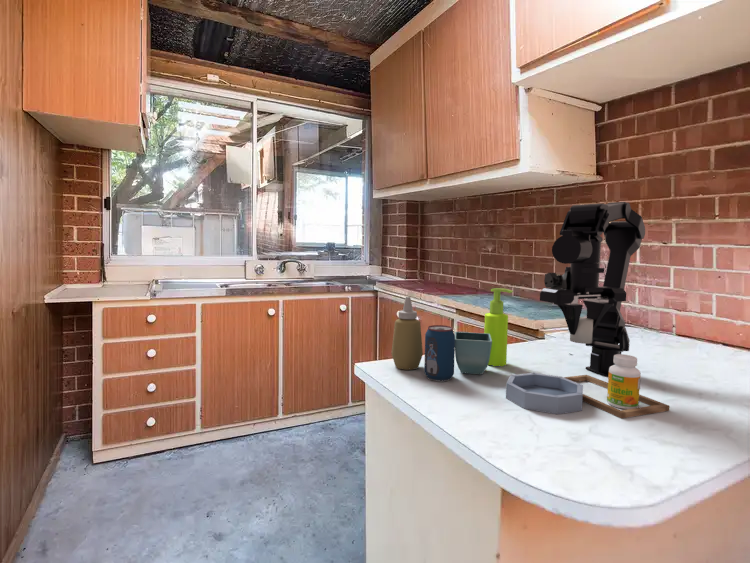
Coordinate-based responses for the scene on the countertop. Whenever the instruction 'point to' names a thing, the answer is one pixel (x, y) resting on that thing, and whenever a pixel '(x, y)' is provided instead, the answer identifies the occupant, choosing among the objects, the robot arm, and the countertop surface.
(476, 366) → the flower pot
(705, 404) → the countertop surface
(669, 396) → the countertop surface
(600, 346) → the robot arm
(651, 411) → the wooden frame
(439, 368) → the soda can
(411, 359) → the squeeze bottle
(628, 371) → the supplement bottle
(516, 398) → the bowl
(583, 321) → the white rounded cylinder
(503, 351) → the soap dispenser
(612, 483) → the countertop surface
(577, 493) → the countertop surface
